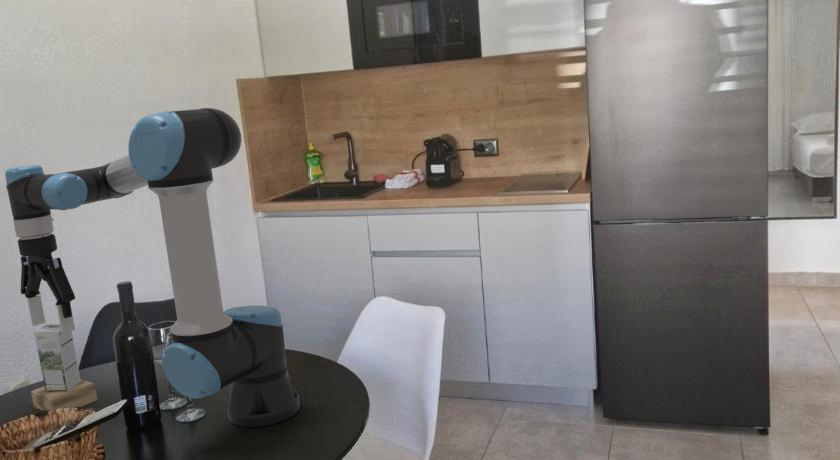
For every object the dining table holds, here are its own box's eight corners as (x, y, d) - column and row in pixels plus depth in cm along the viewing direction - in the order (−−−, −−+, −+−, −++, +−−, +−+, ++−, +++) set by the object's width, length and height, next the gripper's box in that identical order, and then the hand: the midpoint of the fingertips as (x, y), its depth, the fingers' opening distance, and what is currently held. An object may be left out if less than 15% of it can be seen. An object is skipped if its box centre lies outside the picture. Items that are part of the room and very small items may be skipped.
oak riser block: (97, 400, 178) (94, 383, 177) (55, 416, 170) (52, 399, 170) (75, 392, 184) (72, 375, 183) (33, 407, 176) (30, 390, 176)
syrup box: (81, 381, 179) (71, 322, 176) (67, 391, 173) (56, 330, 170) (59, 382, 180) (48, 322, 177) (44, 392, 174) (32, 331, 171)
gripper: (81, 234, 165) (97, 329, 169) (26, 230, 180) (43, 316, 184) (46, 242, 159) (64, 340, 163) (-7, 236, 174) (11, 326, 178)
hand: (53, 327), depth 173 cm, fingers open, 13 cm apart
